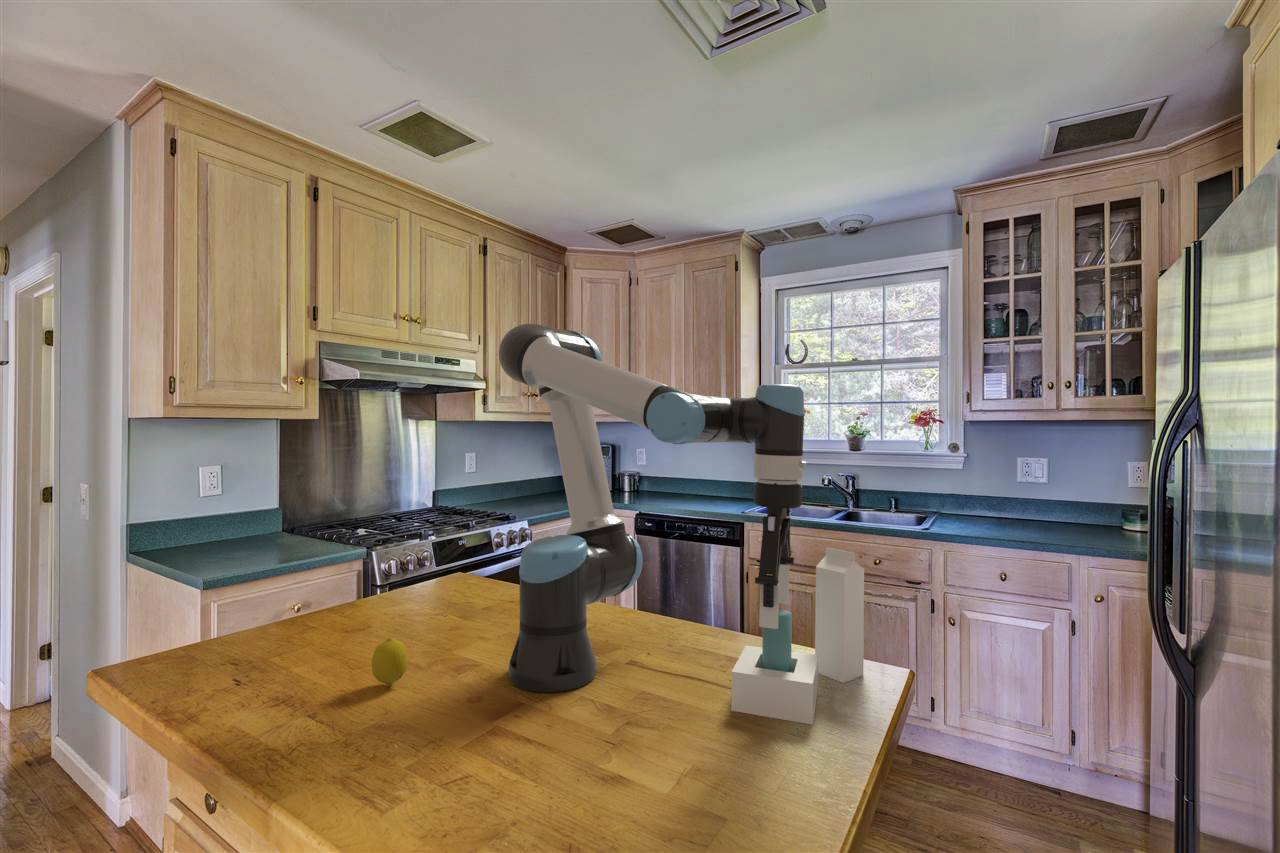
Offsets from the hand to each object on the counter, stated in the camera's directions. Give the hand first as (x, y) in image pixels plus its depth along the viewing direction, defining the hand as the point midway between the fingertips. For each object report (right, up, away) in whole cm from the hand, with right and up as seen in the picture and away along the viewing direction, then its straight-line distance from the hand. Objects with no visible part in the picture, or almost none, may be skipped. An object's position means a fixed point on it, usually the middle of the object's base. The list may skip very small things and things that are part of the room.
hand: (774, 614), depth 96 cm
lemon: (-63, -13, +4) cm, 65 cm away
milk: (+14, -14, +11) cm, 22 cm away
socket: (0, -14, 0) cm, 14 cm away
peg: (0, -14, 0) cm, 14 cm away
